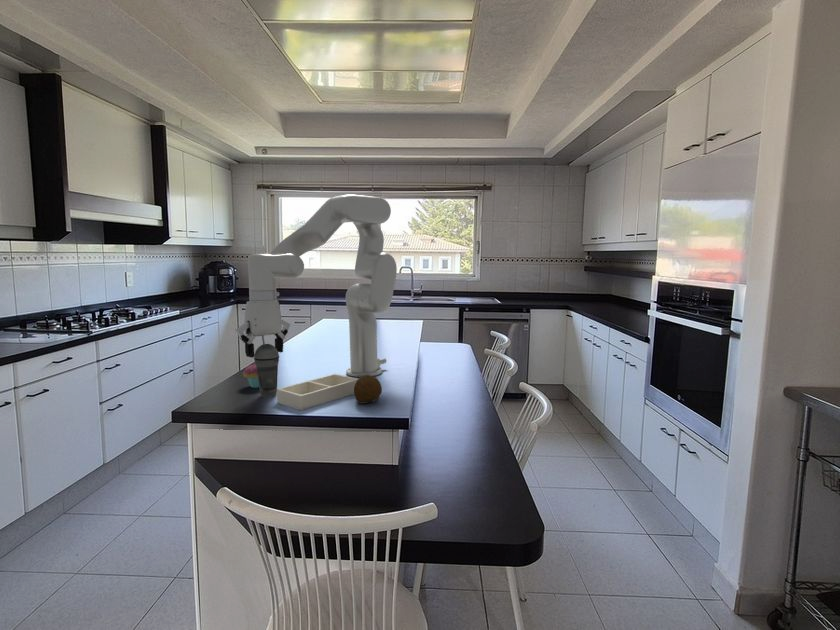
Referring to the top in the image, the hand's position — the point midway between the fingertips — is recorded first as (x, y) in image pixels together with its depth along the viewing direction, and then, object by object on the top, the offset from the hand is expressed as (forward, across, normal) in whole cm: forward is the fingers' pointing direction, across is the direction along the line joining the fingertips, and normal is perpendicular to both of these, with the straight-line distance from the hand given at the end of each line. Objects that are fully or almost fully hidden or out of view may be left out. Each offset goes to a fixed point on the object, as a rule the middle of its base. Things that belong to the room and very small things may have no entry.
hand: (265, 354), depth 140 cm
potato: (+12, -14, +29) cm, 34 cm away
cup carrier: (+12, -9, +14) cm, 21 cm away
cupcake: (+13, -5, -12) cm, 18 cm away
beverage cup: (+13, -1, 0) cm, 13 cm away
